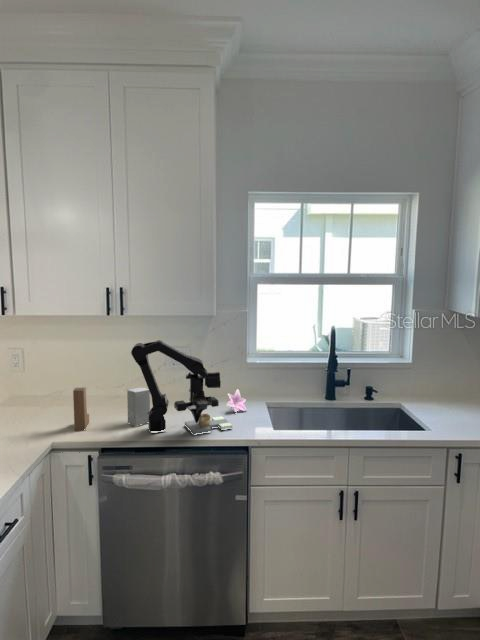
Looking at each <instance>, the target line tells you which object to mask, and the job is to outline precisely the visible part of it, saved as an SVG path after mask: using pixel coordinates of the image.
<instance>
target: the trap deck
mask: <svg viewBox="0 0 480 640" xmlns="http://www.w3.org/2000/svg"><path fill="white" fill-rule="evenodd" d="M185 425H186V426H187V427H188V428H189V429H190V430H191V432H192V433H193V434H196V433H202V432H208V431H211V432H212V430H211V428H212V427H218V426H219V427H220V428H221V429H225V428H232V429H233V424H232V423H230V422H229V420H227V419H226V418H225V417H223V416H222V415H221V416H215V417H211V420H210V425H206V426H201V425H200V424H199V421H198V423H196V422H195V420H194V419H193V420H188V421H186V420H185V421H184V426H185ZM191 432H190V433H191ZM192 433H191V434H192ZM193 434H192V435H193Z"/></svg>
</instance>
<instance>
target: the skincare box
mask: <svg viewBox="0 0 480 640" xmlns="http://www.w3.org/2000/svg"><path fill="white" fill-rule="evenodd" d="M126 391H127V393H126V395H127V424H128V423H130V424H132V425H131V426H133V425H134V426H133V427H135V426H137V425H140V424H144V423H147V422H149V420H148V417H149V413H150V409H151V404H150V403H151V398H150V397H151V394H150V391H149V389H148V388H146V387H135V388H131V389H127V390H126ZM130 424H129V425H130ZM147 424H148V423H147ZM144 425H145V424H144ZM137 427H138V426H137Z"/></svg>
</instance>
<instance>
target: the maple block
mask: <svg viewBox="0 0 480 640" xmlns="http://www.w3.org/2000/svg"><path fill="white" fill-rule="evenodd" d="M210 421H211V415H210V414H209V413H208V412H207V413H201V415H200V418H199V424H200V425H201V426H206V425H210Z"/></svg>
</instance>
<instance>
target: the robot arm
mask: <svg viewBox="0 0 480 640" xmlns="http://www.w3.org/2000/svg"><path fill="white" fill-rule="evenodd" d="M156 352H159V353H161V354H163V355H165V356H167V357H169V358H171V359H173V360H174V361H175V362H177V363H180V364H182V365H183V366H184V368H185V369H187V370H188V371H190V372H188V373H187V374H186V375H185V379H186V380H188V379H189V389H188V390H189V400H188V401H189V402H187V401H186V402H185V401H184V400H176V401H174V403H173V405H174V406H173V407H174V409H175V410H176V411H177V412H183V411H184V412H185V411H186V410H189V411H190V412H191V414H192V417H193V420H195V422H196V423H198V421H199V418H200V415H201V414H203V411H205V410H207V409H208V407H209V406H211V407H212V408H213V407H214V408H215V407H219V399H217V398H216V397H214V396H206V395H205V391H204V386H206V387H207V389H220V388H221V382H222V381H221V373H220V372H219V371H216V372H208V370H207V369H206V368H205V367H204V362H203V359H200V358H199V357H194V356H192V355H187V354H185V353H183V352H181V351H179V350H178V349H176V348H175V347H173V346H170V345H168V344H167V343H165V342H163V341H162V340H155V341H151V342H146V343H143V342H138V343H136V344H134V346H133V347H132V349H131V352H130V354H131V356H132V357H133V359H134V361H135V363H136V364H137V365H138V366H139V368H140V370H141V372H142V375H143V378H144V381H145V384H146V386H147V389H149V391H150V397H151V402H152V408H151V407H150V413H149V417H148V420H149V423H148V428H149V430H150V431H161V430H164V429H165V430H166V427H167V425H166V419H165V416H164V415H166V414H167V412H168V407H169V400H168V398H167V394H166V393H164V394H163V393H162V392H161V390H160V387H159V385H158V383H157V380H156V378H155V375H154V372H153V370H152V367H151V365H150V361H149V355H151V354H152V353H156ZM149 430H148V431H149Z"/></svg>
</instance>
